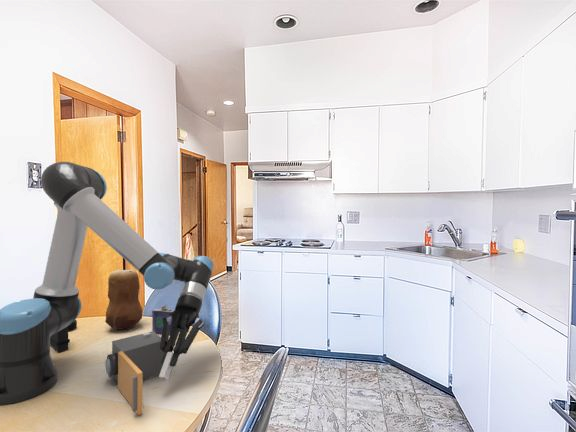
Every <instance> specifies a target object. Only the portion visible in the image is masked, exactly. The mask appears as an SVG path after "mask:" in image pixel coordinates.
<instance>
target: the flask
mask: <svg viewBox="0 0 576 432" xmlns="http://www.w3.org/2000/svg"><path fill="white" fill-rule="evenodd" d="M166 306H167V304H163V305H161V306H160V308H154V309H152V310H151V311H152V313H151V314H152V320H151V322H152V326H151V331H153V332H155V333H156V334H157V335H159V334H162V330H163V321H162V319H163V318H164V317H166V318H168V317H170V316H171V315H172V313H173V312H174V311H175V309H171V308H168V307H166ZM173 324H174V323H173V320H172V321H171V325H170V332H169V337H170V335H171V332H172V329H173Z"/></svg>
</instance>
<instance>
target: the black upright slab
mask: <svg viewBox="0 0 576 432" xmlns="http://www.w3.org/2000/svg"><path fill="white" fill-rule="evenodd" d="M69 344H71V339H70V338H69V331H68V326H67V327H66V328H64V329H62V330H60V331H59V332H57V333H56V334H54V335H53V336H51V337H50V347H52V348H53V349H54V350H55V351H56V352H57V353H62V352H66V351H68V350H69Z"/></svg>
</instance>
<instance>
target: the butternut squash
mask: <svg viewBox="0 0 576 432" xmlns="http://www.w3.org/2000/svg"><path fill="white" fill-rule="evenodd" d="M139 278H140V276H139V273H138V271H136V270H135V269H117V270H113V271H112V272H111V273H110V274H109V276H108V278H107V279H108V280H107V281H108V282H107V283H108V285H107V286H108V288H107V289H108V290H107V298H108V300H109V301H108V302H109V303H108V305H107V308H106V312H105V321H104V322H105V323H106V324H107V325H108V326H110V328H112V329H115V330H129V329H132V328H133V327H134V326H136V325H137V324H138V323H140V321H141V319H142V318H143V308H142V304H141V302H140V300H139V297H140V296H139V295H140V279H139Z"/></svg>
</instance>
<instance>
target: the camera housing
mask: <svg viewBox="0 0 576 432" xmlns="http://www.w3.org/2000/svg"><path fill="white" fill-rule="evenodd" d="M111 343H112V344H111V353H110V354H107V355H106V359H105V362H104V365H105V366H104V367H105V371H106V374H107V375H108V377H110V378H111V377H113V378H114V379H115V381H116V382H117V383H118V352H120V351H123V352H124V354H125V355H126V356H127V357H128V358H129V359H130V360H131V361H132V362H133V363H134V364H135V365H136V366H137V367H138V368H139V369H140V370H141V371H142V372H143V373H142V381H145V380H147V379H151V378H154V377H157V376H159V375H160V372H161V369H162V366H163V365H162V364H161V361H162V359H163V356H164V352H163V351H162V350H161V349H160V343H161V336H160V335H159V334H156V333H155V332H153V331H152V330H151V331H147V332H142V333H140V334H136V335H132V336H127V337H123V338H119V339H116V340H112V341H111Z"/></svg>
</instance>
